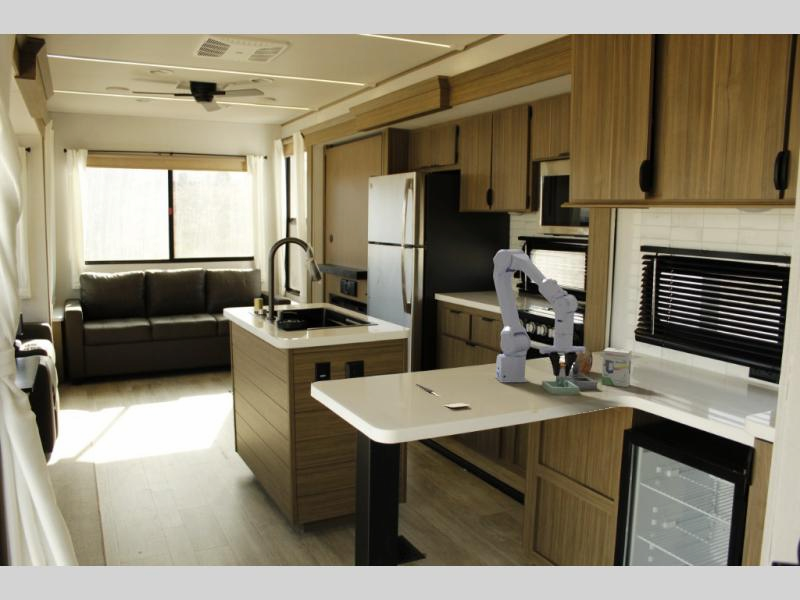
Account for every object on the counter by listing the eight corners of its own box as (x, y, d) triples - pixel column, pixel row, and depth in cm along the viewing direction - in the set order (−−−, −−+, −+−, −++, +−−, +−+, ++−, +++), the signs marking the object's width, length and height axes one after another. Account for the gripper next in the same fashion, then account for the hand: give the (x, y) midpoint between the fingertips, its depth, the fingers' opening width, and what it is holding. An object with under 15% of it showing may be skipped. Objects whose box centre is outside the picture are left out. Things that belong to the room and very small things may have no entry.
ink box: (630, 384, 229) (632, 350, 227) (627, 388, 224) (629, 352, 223) (603, 381, 233) (606, 347, 231) (600, 384, 228) (603, 349, 227)
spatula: (452, 412, 193) (452, 407, 193) (407, 386, 220) (407, 382, 220) (470, 410, 196) (471, 405, 196) (424, 385, 222) (424, 380, 222)
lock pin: (557, 386, 217) (558, 363, 216) (554, 384, 220) (555, 361, 219) (566, 387, 217) (567, 364, 216) (563, 384, 220) (565, 361, 219)
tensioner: (576, 389, 220) (577, 369, 219) (561, 379, 232) (562, 360, 232) (596, 389, 221) (598, 369, 220) (580, 379, 233) (581, 360, 233)
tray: (551, 394, 213) (552, 388, 213) (541, 386, 222) (542, 380, 222) (579, 394, 215) (579, 387, 214) (568, 386, 223) (568, 380, 223)
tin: (576, 378, 235) (577, 354, 234) (567, 377, 237) (569, 353, 236) (592, 371, 247) (594, 348, 246) (584, 369, 249) (585, 347, 248)
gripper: (546, 335, 211) (543, 378, 213) (590, 335, 213) (587, 378, 215) (538, 331, 218) (536, 373, 220) (581, 331, 220) (578, 373, 222)
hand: (561, 375), depth 218 cm, fingers closed on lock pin, 3 cm apart
